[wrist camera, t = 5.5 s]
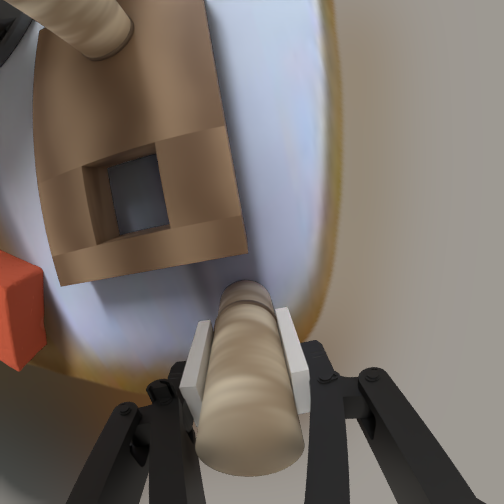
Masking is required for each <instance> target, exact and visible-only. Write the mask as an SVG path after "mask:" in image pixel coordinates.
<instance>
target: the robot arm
mask: <svg viewBox="0 0 504 504" xmlns="http://www.w3.org/2000/svg"><path fill="white" fill-rule="evenodd" d="M31 21H32V18H31V17H29V16H28V15H26V14H25V13H23V12H22V11H20V10H19V9H17V8H15V7H14V6H12V5H11V4H9V3H7V2H6V1H4V0H0V66H1V65H2V64H3V63H4V62H5V60H6V59H7V58H8V56H9V55H10V54H11V52H12V51H13V50H14V48H15V47H16V45H17V44H18V42H19V41H20V39H21V38H22V36H23V35H24V33H25V31H26V30H27V28H28V26H29V24H30V23H31ZM275 311H276V317H277V323H278V329H279V335H280V340H281V344H282V348H283V352H284V357H285V361H286V365H287V370H288V374H289V378H290V383H291V387H292V391H293V396H294V400H295V404H296V409H297V413H298V415H299V414H304V413H309V412H310V429H309V449H308V451H309V452H308V466H307V479H306V491H305V502H304V504H350V495H349V493H350V491H349V466H348V452H347V451H348V450H347V437H346V424H345V419H353V418H356V419H357V421H358V423H359V425H360V427H361V429H362V431H363V433H364V435H365V437H366V439H367V441H368V443H369V445H370V447H371V449H372V451H373V453H374V455H375V457H376V459H377V461H378V463H379V465H380V468H381V470H382V472H383V473H384V475H385V478H386V480H387V482H388V484H389V486H390V488H391V490H392V492H393V494H394V497H395V499H396V501H397V503H398V504H486V503H484V502H482V501H481V500H479V499H477V498H476V496H475V495H474V493H473V492H472V490H471V489H470V487H469V486H468V484H467V483H466V481H465V480H464V479H463V477H462V476H461V475H460V473H459V471H458V470H457V468H456V467H455V466H454V464H453V462H452V461H451V460H450V458H449V457H448V455H447V454H446V452H445V451H444V450H443V448H442V447H441V445H440V444H439V443H438V441H437V440H436V438H435V437H434V436H433V434H432V433H431V431H430V430H429V429H428V427H427V426H426V425H425V423H424V422H423V421H422V419H421V418H420V416H419V415H418V414H417V412H416V411H415V410H414V408H413V407H412V406H411V404H410V403H409V402H408V400H407V399H406V398H405V396H404V395H403V393H402V392H401V391H400V390H399V388H398V387H397V386H396V384H395V383H394V382H393V380H392V379H391V378H390V376H389V375H388V374H387V372H386V371H384V370H383V369H381V368H377V367H371V368H367V369H365V370H363V371H362V372H361V373H360V374H359V376H358V377H343V376H340V375H339V373H337V372H336V371H334V369H333V367H332V365H331V363H330V361H329V359H328V356H327V355H326V352H325V351H324V348H323V346H322V344H321V343H320V342H318V341H317V340H313V341H309V342H304V343H300V342H299V339H298V336H297V333H296V330H295V328H294V325H293V322H292V319H291V316H290V313H289V310H288V307H284V308H278V309H275ZM213 337H214V332H213V328H212V324H211V320H205V321H199V322H198V326H197V329H196V332H195V335H194V339H193V342H192V345H191V349H190V352H189V355H188V359H187V361H182V362H176V363H175V364H174V365H173V366H172V367H171V370H170V373H169V376H168V379H159V380H156V381H154V382H152V383H150V384H149V385H148V386H147V388H146V391H147V393H148V395H149V397H150V399H151V401H152V405H148V406H145V407H140V408H138V407H137V405H136V404H135V403H133V402H124V403H121V404H119V405H118V406H117V407H116V408H115V409H114V410H113V412H112V414H111V416H110V418H109V419H108V421H107V423H106V425H105V427H104V429H103V431H102V433H101V434H100V436H99V438H98V440H97V442H96V444H95V446H94V448H93V450H92V452H91V454H90V456H89V457H88V459H87V461H86V463H85V465H84V467H83V470H82V471H81V473H80V475H79V477H78V479H77V481H76V483H75V485H74V488H73V490H72V492H71V494H70V496H69V498H68V500H67V502H66V504H139V502H140V498H141V495H142V492H143V489H144V485H145V482H146V479H147V476H148V473H149V504H206V501H205V496H204V490H203V484H202V479H201V472H200V466H199V459H198V455H197V453H196V450H195V443H196V438H195V432H194V430H193V427H192V425H193V420H194V422H195V424H196V427H198V425H199V418H200V412H201V406H202V400H203V394H204V388H205V383H206V377H207V371H208V365H209V360H210V354H211V348H212V343H213Z"/></svg>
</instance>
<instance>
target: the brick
mask: <svg viewBox="0 0 504 504" xmlns="http://www.w3.org/2000/svg"><path fill="white" fill-rule="evenodd" d="M43 319H44V296H43V270H42V269H41V268H40V267H38V266H36V265H32V264H30V263H28V262H26V261H24V260H22V259H19V258H17V257H14V256H12V255H10V254H8V253H6V252H4V251H2V250H0V360H1V361H2V362H4V363H5V364H7V365H9V366H10V367H12V368H14V369H15V370H17V371H21V369H22V368H23V367H24V366H25V365H26V364H27V363H28V362H29V361H30V360H31V359H32V358H33V357H34V356H35V355H36V353H37V352H39V351H40V350H41V349H42V348H43V347H44V346H45V345H47V341H46V332H45V327H44V321H43Z"/></svg>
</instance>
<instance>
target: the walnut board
mask: <svg viewBox="0 0 504 504" xmlns="http://www.w3.org/2000/svg"><path fill="white" fill-rule="evenodd" d="M4 1H6V2H7V3H9V4H11V5H12V6H14V7H15V8H17V9H19V10H20V11H22V12H23V13H25V14H26V15H28V16H29V17H31V18H32V19H34V20H35V21H37V22H38V23H40V24H41V25H43V26H44V27H45V28H43V29H42V30H40V31H39V37H38V43H37V51H36V59H35V69H34V83H33V141H34V155H35V166H36V175H37V183H38V190H39V197H40V203H41V209H42V214H43V219H44V224H45V229H46V234H47V238H48V242H49V246H50V250H51V254H52V258H53V262H54V265H55V269H56V272H57V276H58V279H59V282H60V285H61V286H67V285H73V284H78V283H84V282H90V281H95V280H101V279H106V278H112V277H118V276H123V275H129V274H135V273H140V272H146V271H151V270H157V269H163V268H168V267H174V266H179V265H185V264H191V263H196V262H202V261H208V260H213V259H219V258H224V257H230V256H236V255H241V254H247V253H248V243H247V236H246V231H245V225H244V220H243V214H242V209H241V203H240V198H239V192H238V187H237V181H236V176H235V170H234V165H233V159H232V154H231V148H230V143H229V137H228V132H227V126H226V120H225V115H224V109H223V104H222V98H221V93H220V87H219V82H218V76H217V70H216V65H215V59H214V54H213V48H212V42H211V37H210V31H209V25H208V20H207V14H206V8H205V3H204V0H4ZM153 154H157V160H158V166H159V172H160V177H161V183H162V188H163V194H164V199H165V204H166V209H167V214H168V218H169V223H170V224H167V225H162V226H158V227H153V228H149V229H144V230H140V231H135V232H131V233H126V234H122V235H120V232H119V228H118V223H117V218H116V214H115V209H114V204H113V199H112V193H111V188H110V182H109V176H108V169H107V168H109V167H112V166H116V165H119V164H122V163H125V162H128V161H132V160H135V159H139V158H142V157H146V156H149V155H153Z"/></svg>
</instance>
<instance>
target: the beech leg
mask: <svg viewBox="0 0 504 504" xmlns="http://www.w3.org/2000/svg"><path fill="white" fill-rule="evenodd" d="M195 450H196V453H197V455H198V457H199V458H200V459H201V461H202V462H203V463H205V464H206V465H207V466H209V467H211V468H212V469H214V470H216V471H219V472H222V473H226V474H229V475H234V476H245V477H253V476H262V475H268V474H272V473H276V472H278V471H281V470H283V469H285V468H287V467H289V466H291V465H292V464H293V463H295V462H296V461H297V460H298V459H299V458H300V456H301V455H302V453H303V451H304V440H303V435H302V431H301V426H300V422H299V417H298V413H297V409H296V404H295V400H294V396H293V391H292V387H291V383H290V378H289V374H288V370H287V365H286V361H285V357H284V352H283V348H282V344H281V340H280V335H279V329H278V323H277V318H276V316H275V314H274V310H273V306H272V301H271V297H270V295H269V293H268V291H267V290H266V289H265V288H264V287H263V286H262V285H261V284H259V283H257V282H254V281H250V280H242V281H237V282H235V283H233V284H231V285H230V286H228V287H227V288H226V289H225V291H224V292H223V294H222V296H221V300H220V305H219V310H218V316H217V318H216V321H215V325H214V337H213V343H212V348H211V354H210V360H209V365H208V371H207V377H206V383H205V388H204V394H203V400H202V406H201V412H200V418H199V425H198V431H197V437H196V443H195Z"/></svg>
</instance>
